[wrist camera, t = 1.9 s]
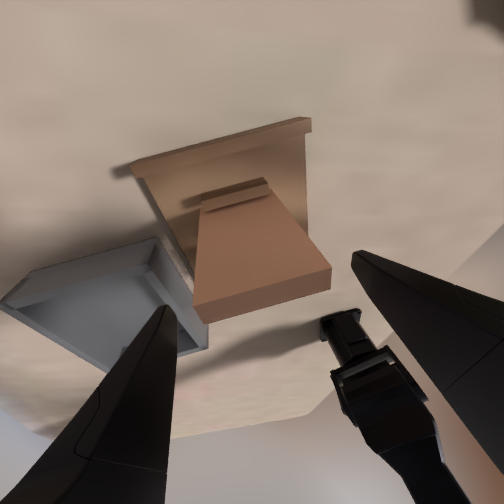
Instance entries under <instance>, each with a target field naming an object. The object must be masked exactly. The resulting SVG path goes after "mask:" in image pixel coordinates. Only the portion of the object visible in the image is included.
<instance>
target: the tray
mask: <svg viewBox="0 0 504 504" xmlns="http://www.w3.org/2000/svg"><path fill="white" fill-rule="evenodd" d="M192 303H193V294H192V293H191V291H190V290H189V288H188V286H187V285H186V283H185V281H184V280H183V278H182V276H181V275H180V273H179V271H178V270H177V268H176V266H175V265H174V263H173V261H172V260H171V258H170V257H169V255H168V253H167V252H166V250H165V248H164V247H163V245H162V243H161V242H160V240H159V238H158V237H156V238H152V239H148V240H145V241H141V242H137V243H134V244H130V245H126V246H123V247H119V248H116V249H112V250H108V251H105V252H101V253H97V254H94V255H90V256H86V257H83V258H79V259H75V260H72V261H68V262H64V263H61V264H57V265H53V266H50V267H46V268H42V269H39V270H35V271H31V272H30V273H29V274H28V275H27V276H26V277H25V278H24V279H22V280H21V281H20V282H19V283H18V284H17V285H16V286H15V287H14V288H13V289H12V290H11V291H10V292H8V293H7V294H6V295H5V296H4V297H3V298H2V299H1V300H0V309H1V310H2V311H4V312H6V313H7V314H9V315H11V316H12V317H14V318H15V319H17V320H19V321H20V322H22V323H24V324H25V325H27V326H29V327H30V328H32V329H34V330H35V331H37V332H39V333H40V334H42V335H44V336H45V337H47V338H49V339H50V340H52V341H54V342H55V343H57V344H59V345H60V346H62V347H64V348H65V349H67V350H69V351H70V352H72V353H74V354H75V355H77V356H79V357H80V358H82V359H84V360H85V361H87V362H89V363H90V364H92V365H94V366H95V367H97V368H99V369H100V370H102V371H104V372H105V373H107V374H108V372H109V371H110V370H111V368H112V367H113V366H114V364H115V363H116V362H117V360H118V359H119V358H120V356H121V355H122V354H123V352H124V351H125V350H126V349H127V347H128V346H129V345H130V343H131V342H132V341H133V339H134V338H135V337H136V335H137V334H138V333H139V331H140V330H141V329H142V327H143V326H144V325H145V323H146V322H147V321H148V320H149V318H150V317H151V316H152V314H153V313H154V312H155V310H156V309H157V308H158V307H159V306H161V305H165V304H168V305H169V306H170V307H171V308H172V310H173V311H174V312H175V314H176V316H177V338H178V352H177V357H181V356H184V355H188V354H191V353H195V352H198V351H202V350H205V349H208V324H205V325H204V324H203V322H202V321H201V319H200V318H199V316H198V315H197V313H196V311H195V310H194V308H193V307H192Z"/></svg>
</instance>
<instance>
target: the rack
mask: <svg viewBox="0 0 504 504" xmlns="http://www.w3.org/2000/svg"><path fill="white" fill-rule="evenodd" d="M310 132H312V129H311V118H308V117H297V118H293V119H289V120H285V121H282V122H278V123H274V124H270V125H266V126H263V127H259V128H255V129H251V130H248V131H244V132H240V133H236V134H233V135H229V136H225V137H221V138H217V139H214V140H210V141H206V142H202V143H199V144H195V145H191V146H187V147H184V148H180V149H176V150H172V151H169V152H165V153H161V154H157V155H153V156H150V157H146V158H142V159H138V160H137V161H135V162H134V163H133V164H131V165H130V166H129V168H130V169H131V171H132V173H133V175H134V176H135V178H136V179H138V178H141V177H143V179H144V181H145V183H146V184H147V186H148V188H149V190H150V192H151V194H152V195H153V197H154V199H155V201H156V203H157V205H158V207H159V208H160V210H161V212H162V214H163V216H164V218H165V220H166V221H167V223H168V225H169V227H170V229H171V231H172V232H173V234H174V236H175V238H176V240H177V242H178V244H179V245H180V247H181V249H182V251H183V253H184V255H185V257H186V258H187V260H188V262H189V264H190V266H191V268H192V269H193V271H194V273H195V266H196V254H197V241H198V229H199V217H200V208H201V207H203V209H204V212H205V211H209V210H213V209H216V208H220V207H224V206H227V205H231V204H235V203H238V202H242V201H246V200H249V199H253V198H257V197H260V196H264V195H268V194H270V192H269V189H272V190H273V192H274V193H275V194H276V196H277V197H278V198H279V199H280V201H281V202H282V203H283V205H284V206H285V207H286V209H287V210H288V211H289V212H290V214H291V215H292V216H293V218H294V219H295V220H296V221H297V223H298V224H299V225H300V227H301V228H302V229H303V230H304V232H305V233H306V234H307V236H308V218H307V189H306V159H305V134H306V133H310Z"/></svg>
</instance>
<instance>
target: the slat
mask: <svg viewBox="0 0 504 504" xmlns="http://www.w3.org/2000/svg"><path fill="white" fill-rule="evenodd" d="M269 192H270V194H268V195H264V196H260V197H257V198H253V199H249V200H246V201H242V202H238V203H235V204H231V205H227V206H224V207H220V208H216V209H213V210H209V211H205V212H204V209H203V207H201V208H200V217H199V229H198V241H197V254H196V266H195V278H194V291H193V303H192V307H193V308H194V310H195V311H196V313H197V315H198V316H199V318H200V319H201V321H202V322H203V324H204V325H205V324H209V323H213V322H216V321H220V320H223V319H227V318H230V317H234V316H237V315H241V314H244V313H248V312H251V311H255V310H259V309H262V308H266V307H269V306H273V305H276V304H280V303H283V302H287V301H290V300H294V299H297V298H301V297H305V296H308V295H312V294H315V293H319V292H322V291H326V290H329V289H331V274H332V267H331V265H330V264H329V263H328V262H327V260H326V259H325V258H324V256H323V255H322V254H321V252H320V251H319V250H318V249H317V247H316V246H315V245H314V243H313V242H312V241H311V240H310V238H309V237H308V236H307V234H306V233H305V232H304V230H303V229H302V228H301V227H300V225H299V224H298V223H297V221H296V220H295V219H294V218H293V216H292V215H291V214H290V212H289V211H288V210H287V209H286V207H285V206H284V205H283V203H282V202H281V201H280V199H279V198H278V197H277V196H276V194H275V193H274V192H273V190H272V189H269Z"/></svg>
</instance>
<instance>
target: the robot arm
mask: <svg viewBox="0 0 504 504" xmlns="http://www.w3.org/2000/svg"><path fill="white" fill-rule="evenodd" d="M351 268H352V270H353V272H354V273H355V275H356V277H357V278H358V280H359V282H360V283H361V285H362V287H363V288H364V290H365V292H366V293H367V295H368V296H369V298H370V299H371V301H372V302H373V303H374V305H375V306H376V307H377V309H378V310H379V311H380V313H381V314H382V315H383V317H384V318H385V319H386V321H387V322H388V323H389V325H390V326H391V327H392V328H393V330H394V331H395V332H396V334H397V335H398V336H399V338H400V339H401V340H402V342H403V343H404V344H405V346H406V347H407V348H408V350H409V351H410V352H411V354H412V355H413V356H414V358H415V359H416V360H417V362H418V363H419V364H420V366H421V367H422V368H423V370H424V371H425V372H426V374H427V375H428V376H429V378H430V379H431V380H432V381H433V383H434V384H435V386H436V387H437V388H438V390H439V391H440V392H441V393H442V395H443V396H444V398H445V399H446V400H447V402H448V403H449V404H450V406H451V407H452V408H453V410H454V411H455V412H456V414H457V415H458V416H459V418H460V419H461V420H462V421H463V423H464V424H465V426H466V427H467V428H468V430H469V431H470V432H471V434H472V435H473V436H474V438H475V439H476V440H477V442H478V443H479V444H480V446H481V447H482V448H483V450H484V451H485V452H486V453H487V455H488V456H489V458H490V459H491V460H492V461H493V463H494V464H495V465H496V467H497V468H498V469H499V470H500V471H501V473H502V474H503V475H504V302H502V301H500V300H496V299H493V298H491V297H487V296H485V295H482V294H479V293H477V292H474V291H471V290H468V289H466V288H463V287H460V286H457V285H454V284H452V283H449V282H447V281H444V280H441V279H439V278H436V277H433V276H431V275H428V274H426V273H423V272H420V271H418V270H415V269H412V268H410V267H407V266H404V265H402V264H399V263H396V262H394V261H391V260H388V259H386V258H383V257H380V256H378V255H375V254H372V253H370V252H367V251H364V250H359V251H355V252H353V254H352V261H351ZM361 313H362V311H361V310H360V309H355V310H352V311H348V312H345V313H341V314H338V315H334V316H331V317H327V318H324V319H322V320H321V321H320V340H321V342H324V341H328V343H329V345H330V347H331V349H332V351H333V352H334V354H335V356H336V358H337V360H338V362H339V364H340V366H341V367H340V368H338V369H335V370H331V371H330V373H331V376H330V377H331V379H332V381H333V383H334V386H335V389H336V391H337V395H338V399H339V402H340V405H341V410H342V412H343V414H345V415H346V416H348V417H349V419H350V420H351V422H352V423H353V425H354V426H355V427H359V429H360V431H361V433H362V435H363V437H364V439H365V442H366V444H367V445H368V446H369V447H370V448H371V449H372V450H373V451H374V452H375V453H376V454H378V455H379V456H380V457H381V458H382V459H384V460H385V461H386V462H387V463H388V464H389V465H390V466H391V467H392V468H393V469H394V470H395V471H396V472H397V473H398V474H399V475H400V476H401V477H402V479H403V481H404V483H405V484H406V486H407V488H408V490H409V492H410V494H411V496H412V498H413V499H414V502H415V504H472V502H471V501H470V499H469V498H468V496H467V495H466V493H465V492H464V490H463V489H462V487H461V486H460V484H459V483H458V481H457V480H456V478H455V477H454V475H453V474H452V472H451V471H450V469H449V468H448V466H447V465H446V463H445V459H444V454H443V450H442V445H441V441H440V436H439V432H438V428H437V424H436V422H435V420H434V417H433V416H432V414H431V413H430V412H429V410H428V409H427V407H426V406H425V405H424V403H423V402H425V401H428V398H427V396H426V395H425V393H424V392H423V391H422V389H421V388H420V386H419V385H418V384H417V382H416V381H415V380H414V378H413V377H412V376H411V375H410V373H409V372H408V371H407V369H406V368H405V367H404V366H403V364H402V363H401V362H400V361H399V359H398V358H397V357H396V355H395V354H394V353H393V351H392V350H391V349H390V348H389V346H388V345H385V346H384V347H383V348H381V349H379V350H378V349H377V348H376V346H375V345H374V343H373V342H372V340H371V339H370V338H369V336H368V335H367V333H366V332H365V330H364V329H363V328H362V326H361V325H360V323H359V321H360V317H361ZM177 352H178V338H177V316H176V314H175V312H174V311H173V310H172V308H171V307H170V306H169V305H168V304H165V305H161V306H159V307H158V308H157V309H156V310H155V312H154V313H153V314H152V316H151V317H150V318H149V320H148V321H147V322H146V323H145V325H144V326H143V327H142V329H141V330H140V331H139V333H138V334H137V335H136V337H135V338H134V339H133V341H132V342H131V343H130V345H129V346H128V347H127V349H126V350H125V351H124V352H123V354H122V355H121V356H120V358H119V359H118V360H117V362H116V363H115V364H114V366H113V367H112V368H111V370H110V371H109V372H108V374H107V375H106V376H105V378H104V379H103V380H102V382H101V383H100V384H99V386H98V387H97V388H96V389H95V391H94V392H93V393H92V395H91V396H90V397H89V399H88V400H87V401H86V402H85V404H84V405H83V406H82V407H81V409H80V410H79V411H78V413H77V414H76V415H75V416H74V418H73V419H72V420H71V421H70V422H69V424H68V425H67V426H66V427H65V428H64V430H63V431H62V432H61V433H60V434H59V436H58V437H57V438H56V439H55V440H54V442H53V443H52V444H51V445H50V446H49V448H48V449H47V450H46V451H45V452H44V454H43V455H42V456H41V457H40V458H39V459H38V461H37V462H36V463H35V464H34V465H33V466H32V468H31V469H30V470H29V471H28V472H27V474H26V475H25V476H24V477H23V478H22V479H21V481H20V482H19V483H18V484H17V485H16V486H15V487H14V488H13V489H12V490H11V491H10V492H9V493H8V494H7V495H6V496H5V497H4V498H3V499H2V500H1V501H0V504H165V492H166V481H167V474H166V473H167V467H168V456H169V444H170V433H171V422H172V410H173V399H174V387H175V376H176V364H177ZM392 361H393V362H394V364H392V365H390V364H389V363H390V362H392Z"/></svg>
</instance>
